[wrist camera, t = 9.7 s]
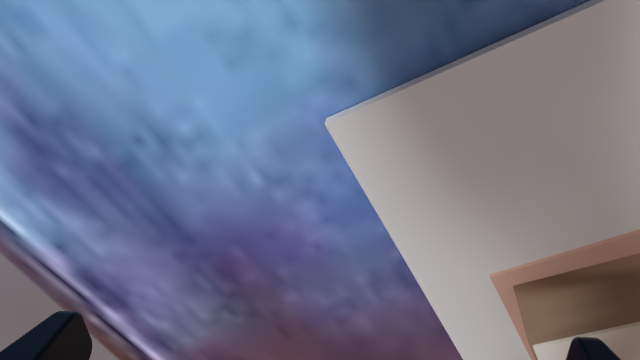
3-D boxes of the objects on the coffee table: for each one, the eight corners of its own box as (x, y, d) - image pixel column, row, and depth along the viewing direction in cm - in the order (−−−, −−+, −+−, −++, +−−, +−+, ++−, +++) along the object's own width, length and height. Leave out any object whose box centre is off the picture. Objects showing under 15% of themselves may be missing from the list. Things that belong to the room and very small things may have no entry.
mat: (326, 118, 21) (324, 126, 20) (780, -85, 16) (794, -81, 15) (506, 426, 30) (508, 438, 30) (829, 361, 25) (840, 374, 24)
